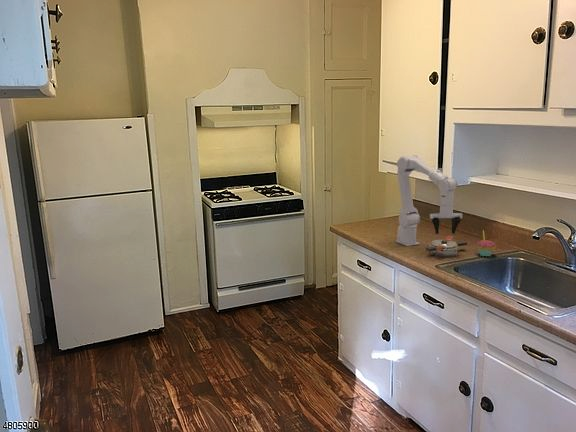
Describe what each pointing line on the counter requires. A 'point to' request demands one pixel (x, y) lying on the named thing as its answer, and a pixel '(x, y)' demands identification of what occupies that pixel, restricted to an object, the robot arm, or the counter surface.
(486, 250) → the cupcake
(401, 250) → the counter surface
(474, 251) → the counter surface
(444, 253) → the pot
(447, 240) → the lid
